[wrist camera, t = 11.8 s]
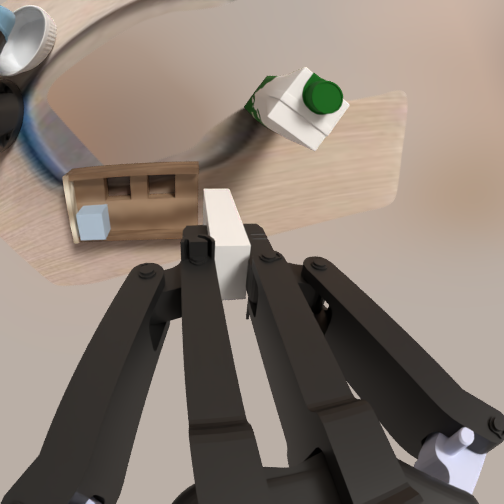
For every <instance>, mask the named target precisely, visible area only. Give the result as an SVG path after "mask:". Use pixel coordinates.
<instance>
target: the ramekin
mask: <svg viewBox="0 0 504 504" xmlns="http://www.w3.org/2000/svg"><path fill="white" fill-rule="evenodd" d="M13 13H14V15H15V25H14V27H13V29H12V31H11V33H10V35H9V37H8V42H7V43H6V44H5V46H4V48H3V50H2V52H1V55H0V76H14V75H17V74H19V73H22V72H26V71H29V70H31V69H33V68H35V67H36V66H38V65H39V64H40V63H41V62H42V61H43V60H44V59H45V58H46V57H47V56H48V54H49V53H50V51H51V50H52V47H53V45H54V43H55V39H56V35H57V27H56V23H55V21H54V19H53V18H52V17H51V16H50V15H49V14H47V13H46V11H45V10H44V9H42V8H41V7H38V6H34V5H27V6H23V7H21V8H19V9H17V10H15V11H14V12H13Z"/></svg>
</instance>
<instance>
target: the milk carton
mask: <svg viewBox="0 0 504 504" xmlns="http://www.w3.org/2000/svg"><path fill="white" fill-rule="evenodd" d="M348 107H349V104H348V103H347V102H346V101H345V100H344V99H343V94H342V91H341V89H340V88H339V87H338V85H336V84H335V83H333V82H331V81H326V80H324V79H322V78H320V77H319V76H318V75H316V74H315V73H312V72H311V71H310V70H309V69H308V68H306V67H304V68H301V69H299V70H297V71H295V72H292V73H290V74H288V75H282V76H267V77H266V78H265V79H264V80H263V82H262V83H261V85H260V86H259V87H258V88H257V90H256V91H255V92H254V94H253V95H252V96H251V98H250V99H249V101H248V102H247V103H246V105H245V106H244V108H245V109H246V110H247V111H248V112H249V113H250V114H251V115H252V116H253V117H254V118H255V119H256V120H257V121H258V122H260V123H261V124H262V125H264V126H265V127H267V128H268V129H270V130H272V131H274V132H276V133H277V134H279V135H281V136H283V137H285V138H287V139H289V140H291V141H293V142H296V143H298V144H300V145H303V146H305V147H307V148H309V149H311V150H313V151H316V149H317V148H318V147H319V145H320V144H321V143H322V141H323V140H324V138H325V137H326V136H328V135H329V134H330V132H331V131H332V129H333V128H334V126H335V125H336V123H337V122H338V121H339V119H340V118H341V117H342V115H343V114H344V112H345V111H346V110H347V108H348Z"/></svg>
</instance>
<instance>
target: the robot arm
mask: <svg viewBox="0 0 504 504" xmlns="http://www.w3.org/2000/svg"><path fill="white" fill-rule="evenodd" d="M14 25H15V15H14V13H13V12H12V11H10V10H9V9H7V8H5V7H3V6H1V5H0V55H1V52H2V50H3V48H4V46H5V44H6V43H7V42H8V37H9V35H10V33H11V31H12V29H13V27H14ZM23 114H24V105H23V98H22V95H21V92H20V90H19V88H18V87H17V86H16V85H15V84H14V83H13V82H11V81H9V80H0V152H2V151H4V150H5V149H7V148H8V147H9V146H10V145H11V144H12V143H13V142H14V140H15V139H16V137H17V135H18V133H19V131H20V128H21V125H22V121H23ZM180 243H181V262H180V263H179V264H178V265H177V266H175V267H173V268H171V269H167V270H163V268H162V267H161V266H160V265H158V264H154V263H144V264H140V265H138V266H136V267H134V268H133V269H132V270H131V272H130V273H129V275H128V276H127V278H126V280H125V281H124V283H123V285H122V286H121V288H120V290H119V291H118V293H117V295H116V296H115V298H114V300H113V301H112V303H111V305H110V307H109V308H108V310H107V312H106V313H105V315H104V317H103V319H102V321H101V322H100V324H99V326H98V328H97V330H96V331H95V333H94V335H93V337H92V339H91V341H90V343H89V344H88V346H87V348H86V350H85V352H84V354H83V356H82V358H81V360H80V362H79V364H78V366H77V368H76V370H75V372H74V374H73V376H72V378H71V380H70V382H69V385H68V387H67V389H66V391H65V393H64V396H63V398H62V400H61V402H60V405H59V407H58V409H57V411H56V414H55V416H54V418H53V421H52V423H51V426H50V428H49V431H48V433H47V436H46V438H45V441H44V444H43V446H42V449H41V452H40V455H39V456H38V457H37V458H36V460H35V461H34V462H33V463H32V464H31V465H30V467H28V469H27V470H26V471H25V472H24V473H23V474H22V476H21V477H20V478H19V479H18V480H17V482H16V483H15V484H14V485H13V486H12V487H11V489H10V490H9V491H8V492H7V493H6V495H5V496H4V498H3V500H2V502H1V504H116V502H117V500H118V498H119V496H120V493H121V490H122V486H123V483H124V479H125V475H126V471H127V466H128V462H129V458H130V455H131V451H132V447H133V443H134V440H135V435H136V432H137V428H138V425H139V421H140V418H141V414H142V410H143V407H144V404H145V400H146V397H147V394H148V390H149V387H150V384H151V381H152V377H153V374H154V371H155V368H156V364H157V362H158V359H159V355H160V352H161V349H162V346H163V343H164V340H165V337H166V334H167V331H168V328H169V325H170V320H174V319H177V318H181V317H182V332H183V333H182V334H183V355H184V371H185V385H186V397H187V409H188V420H189V441H190V450H191V457H192V465H193V472H194V479H195V484H193V485H192V486H190V487H188V488H187V489H186V490H185V491H183V492H182V493H181V494H180V495H179V496H178V497H177V498H176V499H175V500H174V502H173V503H172V504H479V503H478V502H477V500H476V499H475V498H474V496H473V495H472V493H473V490H474V488H475V485H476V483H477V480H478V477H479V474H480V472H481V468H482V466H483V463H484V460H485V456H486V454H487V453H488V452H489V451H490V450H492V449H493V448H495V447H496V446H497V445H499V444H500V443H502V442H503V440H504V415H503V414H502V413H501V412H500V411H498V410H496V409H495V408H493V407H491V406H490V405H488V404H486V403H485V402H483V401H481V400H480V399H478V398H476V397H475V396H473V395H471V394H469V393H468V392H466V391H465V390H463V389H462V388H461V387H460V386H459V385H458V384H457V383H456V382H455V381H454V380H453V379H452V378H451V377H450V375H448V373H446V372H445V370H444V369H443V368H442V367H441V366H440V365H439V364H438V363H437V362H436V361H435V360H434V359H433V358H432V357H431V356H430V355H429V354H428V353H427V352H426V351H425V350H424V349H423V348H422V347H421V346H420V345H419V344H418V343H417V342H416V341H415V340H414V339H413V338H412V337H411V336H410V335H409V334H408V333H407V332H406V331H405V330H403V329H402V327H400V326H399V325H398V324H397V323H396V322H395V321H394V320H393V319H392V318H391V317H390V316H389V315H388V314H387V313H386V312H385V311H383V309H382V308H380V307H379V306H378V305H377V304H376V303H375V302H374V301H373V300H372V299H371V298H370V297H369V296H368V295H366V293H364V292H363V291H362V290H361V289H360V288H359V287H358V286H357V285H356V284H354V283H353V282H352V281H351V280H350V279H349V278H348V277H347V276H346V275H344V273H342V272H341V271H340V270H339V269H338V268H337V267H336V266H335V265H334V264H332V263H331V262H330V261H328V260H327V259H324V258H322V257H308V258H306V259H305V260H304V262H303V265H297V264H291V263H287V262H286V260H285V258H284V257H283V256H282V254H280V253H279V252H277V251H274V250H273V248H272V246H271V244H270V242H269V240H268V239H267V236H266V235H265V232H264V230H263V228H261V227H260V226H259V225H257V224H242V221H241V218H240V216H239V213H238V211H237V208H236V205H235V203H234V200H233V197H232V195H231V192H230V190H229V189H204V196H203V225H190V226H186V227H185V228H184V229H183V234H182V240H181V242H180ZM246 290H247V294H248V304H247V314H246V319H249V315H250V317H251V321H252V325H253V328H254V332H255V335H256V339H257V342H258V346H259V349H260V353H261V357H262V360H263V364H264V367H265V370H266V374H267V378H268V381H269V384H270V388H271V391H272V395H273V398H274V402H275V405H276V408H277V412H278V415H279V419H280V422H281V425H282V429H283V431H284V435H285V439H286V442H287V457H288V464H289V468H277V467H263V466H262V463H261V459H260V455H259V451H258V447H257V443H256V439H255V436H254V432H253V429H252V427H251V425H250V424H249V423H248V421H247V419H246V415H245V411H244V406H243V402H242V397H241V393H240V389H239V384H238V379H237V375H236V370H235V365H234V361H233V355H232V350H231V345H230V340H229V335H228V330H227V325H226V320H225V314H224V309H223V304H222V300H235V299H245V298H246V297H245V296H246ZM325 301H326V302H327V303H328V304H329V307H328V308H326V307H325V306H324V305H323V304H324V302H325ZM346 381H347V382H348V383H349V385H350V386H351V387H352V388H353V389H354V391H355V392H356V393H357V394H358V396H359V397H360V398H361V399H356V398H355V397H354V396H353V394H352V392H351V390H350V388H349V386H348V384H347V382H346ZM380 423H381V424H382V425H383V426H384V428H385V429H386V430H387V431H388V432H389V434H390V435H391V436H392V437H393V439H395V441H396V442H397V443H398V444H399V445H400V446H401V447H402V448H403V449H404V450H405V451H407V452H408V453H409V454H410V455H412V456H413V457H415V458H416V459H418V460H417V461H416V462H415V465H414V467H412V466H410V465H408V464H406V463H404V462H403V461H401V460H399V459H397V458H396V456H395V454H394V451H393V449H392V447H391V445H390V443H389V441H388V439H387V437H386V435H385V433H384V430H383V428H382V426H381V424H380Z"/></svg>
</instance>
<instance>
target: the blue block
mask: <svg viewBox="0 0 504 504" xmlns="http://www.w3.org/2000/svg"><path fill="white" fill-rule="evenodd" d="M76 218H77V223H78V229H79V234H80V238H81V240H105V239H106V238H107V236H108V233H109V231H110V229H111V228H110V221H109V214H108V206H107V204H103V205H88V206H83V207H82V208H81V209H80V210H79V212H78V213H77V214H76Z"/></svg>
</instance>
